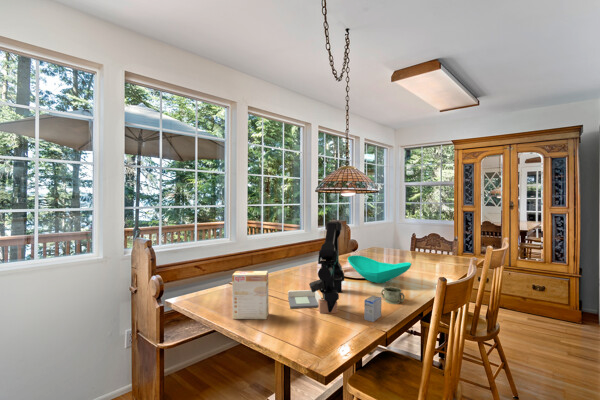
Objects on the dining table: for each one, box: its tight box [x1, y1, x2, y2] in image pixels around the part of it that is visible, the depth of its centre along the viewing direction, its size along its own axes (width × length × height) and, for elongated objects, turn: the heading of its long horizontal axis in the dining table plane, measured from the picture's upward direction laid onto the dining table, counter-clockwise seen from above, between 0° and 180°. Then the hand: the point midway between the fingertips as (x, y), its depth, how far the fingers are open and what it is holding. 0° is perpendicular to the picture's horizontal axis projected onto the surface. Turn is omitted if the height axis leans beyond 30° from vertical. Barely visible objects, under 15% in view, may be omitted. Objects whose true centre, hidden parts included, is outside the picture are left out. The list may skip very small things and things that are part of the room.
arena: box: [287, 289, 322, 310], centre depth 153 cm, size 15×14×4 cm
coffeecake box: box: [231, 270, 270, 320], centre depth 137 cm, size 15×7×20 cm, turn 88°
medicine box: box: [363, 295, 382, 323], centre depth 135 cm, size 8×4×9 cm, turn 141°
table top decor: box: [347, 255, 412, 284], centre depth 190 cm, size 40×28×13 cm
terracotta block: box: [317, 298, 338, 314], centre depth 143 cm, size 8×4×5 cm, turn 95°
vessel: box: [381, 286, 405, 305], centre depth 155 cm, size 12×9×6 cm
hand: (327, 308), depth 143 cm, fingers open, 9 cm apart
